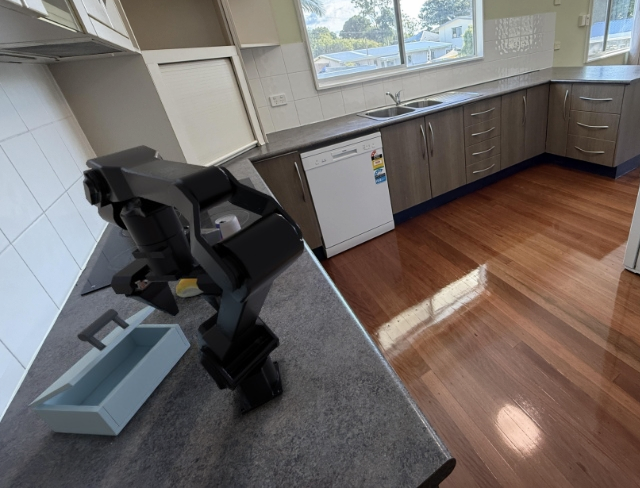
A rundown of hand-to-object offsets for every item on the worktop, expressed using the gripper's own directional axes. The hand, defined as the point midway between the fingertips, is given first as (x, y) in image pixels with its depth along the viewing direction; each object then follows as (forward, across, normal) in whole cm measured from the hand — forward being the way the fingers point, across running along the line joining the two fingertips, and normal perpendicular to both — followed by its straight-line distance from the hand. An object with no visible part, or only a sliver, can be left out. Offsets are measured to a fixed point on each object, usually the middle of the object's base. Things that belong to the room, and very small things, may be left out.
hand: (200, 314), depth 51 cm
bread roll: (+13, +22, -21) cm, 33 cm away
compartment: (+12, +16, +4) cm, 20 cm away
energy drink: (+13, +18, -33) cm, 40 cm away
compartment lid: (+4, +16, +4) cm, 17 cm away
